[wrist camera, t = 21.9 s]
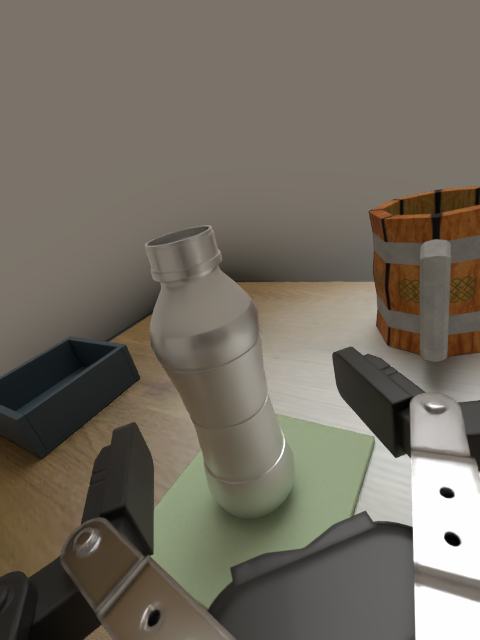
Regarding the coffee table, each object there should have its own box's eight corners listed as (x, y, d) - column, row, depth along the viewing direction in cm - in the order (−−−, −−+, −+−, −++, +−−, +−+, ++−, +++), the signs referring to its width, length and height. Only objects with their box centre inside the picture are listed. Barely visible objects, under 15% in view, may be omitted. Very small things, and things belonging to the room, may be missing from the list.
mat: (303, 679, 16) (302, 673, 16) (124, 554, 24) (121, 549, 24) (375, 441, 28) (374, 436, 28) (237, 408, 36) (236, 404, 36)
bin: (42, 458, 36) (16, 420, 34) (-10, 429, 43) (-34, 396, 41) (140, 377, 46) (125, 344, 44) (85, 365, 54) (70, 336, 52)
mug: (383, 303, 49) (377, 199, 43) (497, 302, 42) (510, 178, 36) (357, 386, 35) (343, 245, 28) (526, 405, 28) (557, 226, 21)
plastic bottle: (316, 479, 25) (266, 213, 17) (258, 554, 22) (156, 259, 13) (255, 443, 30) (192, 220, 22) (198, 500, 26) (94, 255, 18)
